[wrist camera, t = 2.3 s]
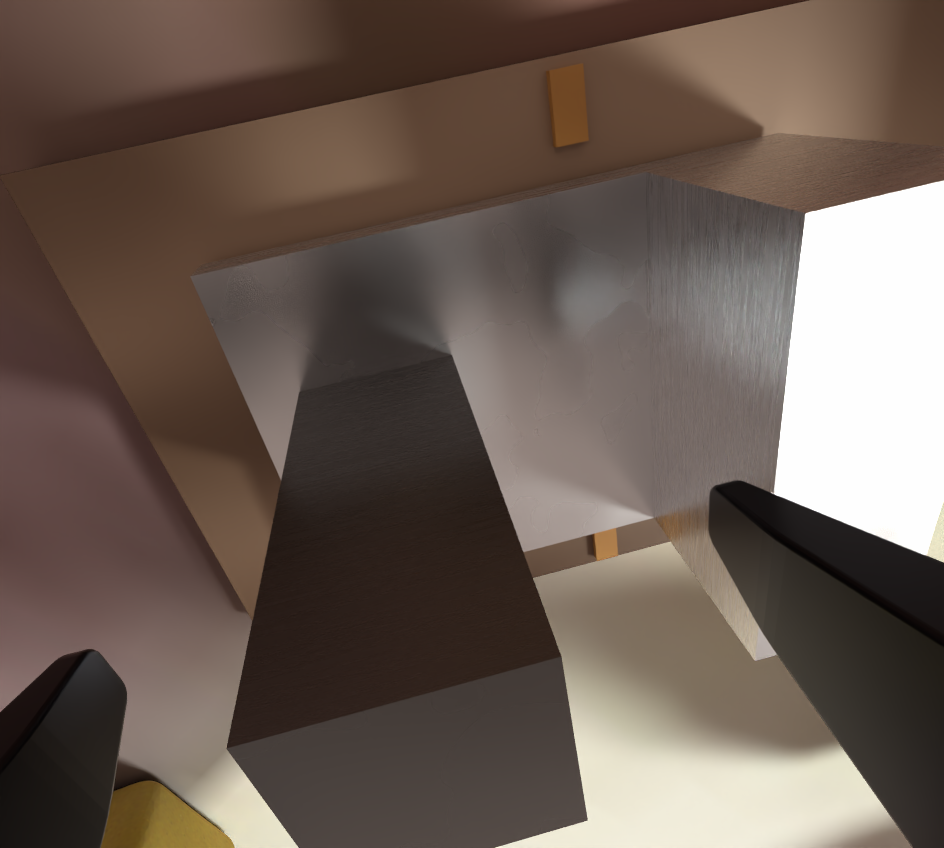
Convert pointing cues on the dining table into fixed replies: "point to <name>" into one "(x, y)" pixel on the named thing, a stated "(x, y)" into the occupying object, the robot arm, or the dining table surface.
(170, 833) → the flower pot
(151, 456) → the dining table surface
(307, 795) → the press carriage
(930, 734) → the robot arm
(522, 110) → the press base
